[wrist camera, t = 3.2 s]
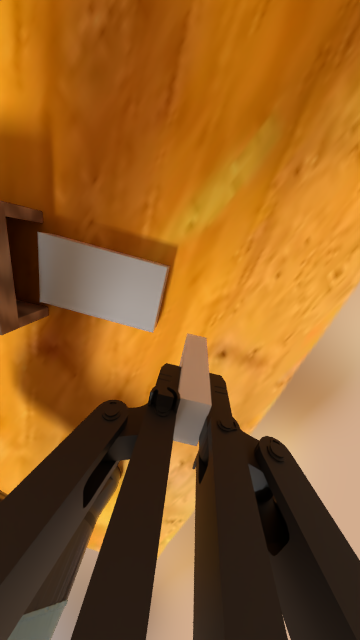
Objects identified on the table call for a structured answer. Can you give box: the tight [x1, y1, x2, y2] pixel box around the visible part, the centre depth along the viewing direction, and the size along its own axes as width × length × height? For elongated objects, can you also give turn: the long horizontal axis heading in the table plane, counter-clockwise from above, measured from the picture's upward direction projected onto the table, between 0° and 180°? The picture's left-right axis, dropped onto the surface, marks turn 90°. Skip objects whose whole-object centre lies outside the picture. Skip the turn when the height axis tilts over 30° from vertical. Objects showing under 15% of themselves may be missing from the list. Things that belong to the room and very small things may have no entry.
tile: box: [38, 232, 170, 332], centre depth 28 cm, size 10×18×3 cm, turn 76°
